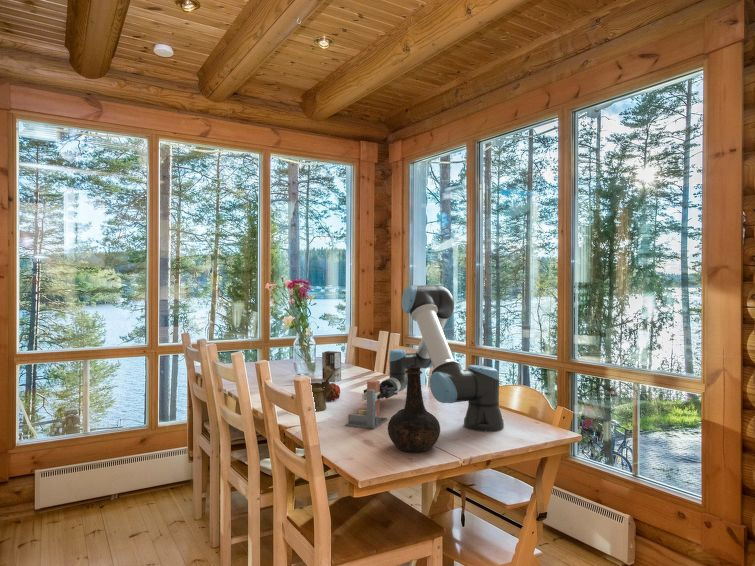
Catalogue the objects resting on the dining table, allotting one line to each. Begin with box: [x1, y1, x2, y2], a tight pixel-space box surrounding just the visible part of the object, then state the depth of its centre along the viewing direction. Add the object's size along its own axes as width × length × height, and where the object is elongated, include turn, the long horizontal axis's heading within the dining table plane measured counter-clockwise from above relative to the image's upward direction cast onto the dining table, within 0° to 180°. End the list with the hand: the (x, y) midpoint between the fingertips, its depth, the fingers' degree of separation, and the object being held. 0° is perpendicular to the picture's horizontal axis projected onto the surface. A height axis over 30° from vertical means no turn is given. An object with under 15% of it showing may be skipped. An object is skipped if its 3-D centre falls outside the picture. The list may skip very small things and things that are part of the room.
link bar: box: [366, 379, 381, 416], centre depth 220 cm, size 4×4×14 cm
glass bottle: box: [387, 365, 441, 453], centre depth 176 cm, size 18×18×28 cm
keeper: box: [345, 389, 389, 430], centre depth 206 cm, size 15×12×15 cm
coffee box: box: [321, 350, 342, 382], centre depth 294 cm, size 9×6×16 cm
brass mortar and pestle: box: [310, 368, 336, 412], centre depth 229 cm, size 9×14×18 cm, turn 96°
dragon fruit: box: [323, 382, 341, 401], centre depth 247 cm, size 8×8×12 cm
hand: (368, 398), depth 215 cm, fingers closed on link bar, 4 cm apart
